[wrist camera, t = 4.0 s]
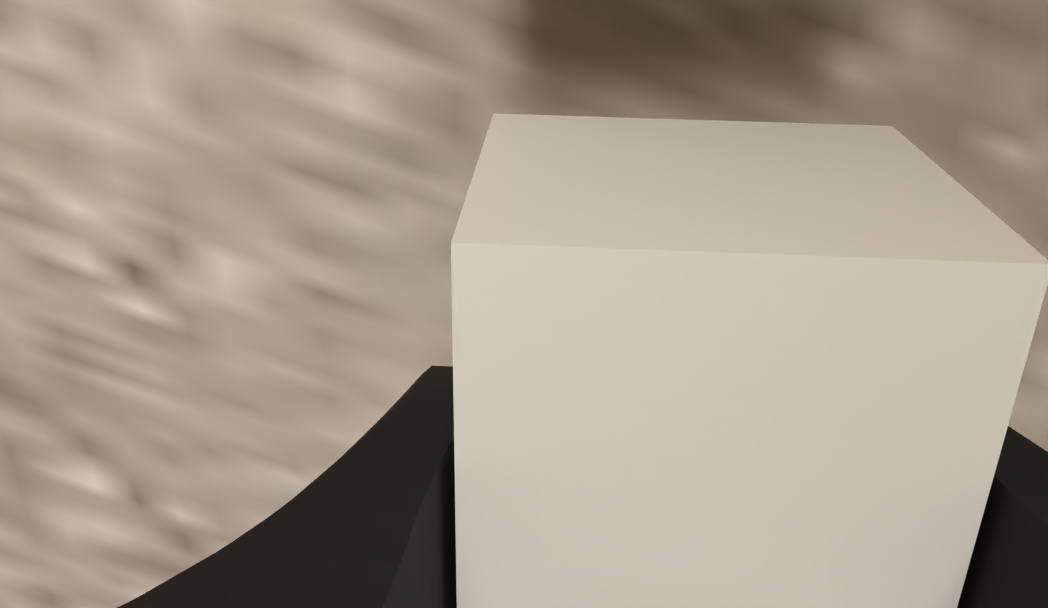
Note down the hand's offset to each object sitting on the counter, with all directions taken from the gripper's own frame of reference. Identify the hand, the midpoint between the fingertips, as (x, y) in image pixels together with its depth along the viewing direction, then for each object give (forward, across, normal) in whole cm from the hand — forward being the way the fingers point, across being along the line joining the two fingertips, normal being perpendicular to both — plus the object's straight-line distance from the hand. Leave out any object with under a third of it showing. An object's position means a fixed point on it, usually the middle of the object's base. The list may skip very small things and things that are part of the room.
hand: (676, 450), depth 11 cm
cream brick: (+1, 0, 0) cm, 1 cm away
